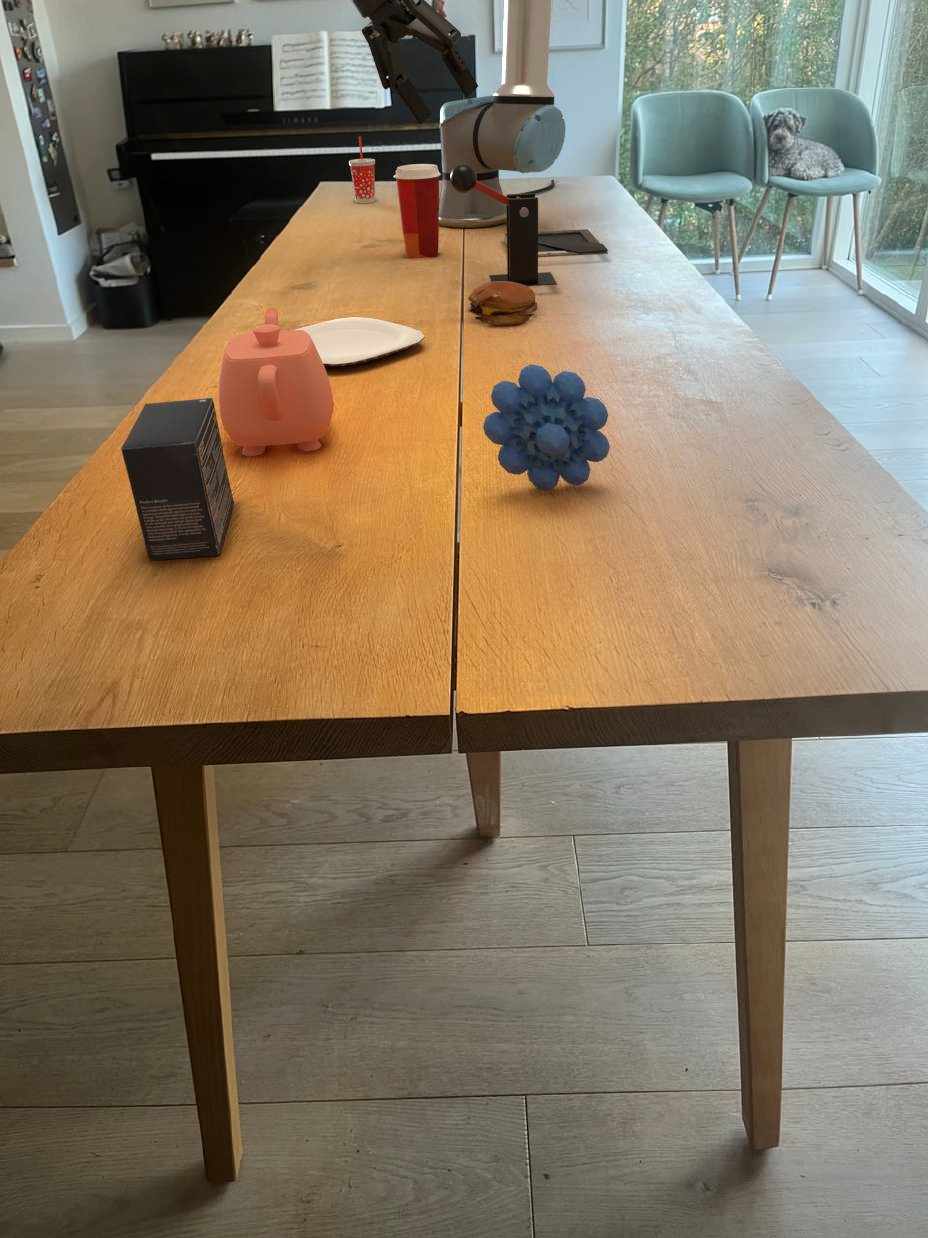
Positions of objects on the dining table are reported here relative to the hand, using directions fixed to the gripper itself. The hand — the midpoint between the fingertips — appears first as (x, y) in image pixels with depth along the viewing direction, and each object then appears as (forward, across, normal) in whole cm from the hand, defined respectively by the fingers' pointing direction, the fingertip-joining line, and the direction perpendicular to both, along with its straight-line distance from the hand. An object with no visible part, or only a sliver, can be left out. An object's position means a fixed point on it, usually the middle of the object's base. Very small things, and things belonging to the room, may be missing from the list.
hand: (448, 106), depth 160 cm
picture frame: (+31, -4, +5) cm, 32 cm away
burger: (+23, +22, -30) cm, 44 cm away
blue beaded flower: (+21, +69, -69) cm, 100 cm away
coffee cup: (+18, -19, -9) cm, 27 cm away
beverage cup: (+13, -74, +23) cm, 78 cm away
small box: (+3, +54, -92) cm, 107 cm away
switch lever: (+12, +13, -15) cm, 23 cm away
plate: (+11, +19, -52) cm, 56 cm away
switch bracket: (+26, +12, -17) cm, 33 cm away
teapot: (+7, +40, -75) cm, 85 cm away
